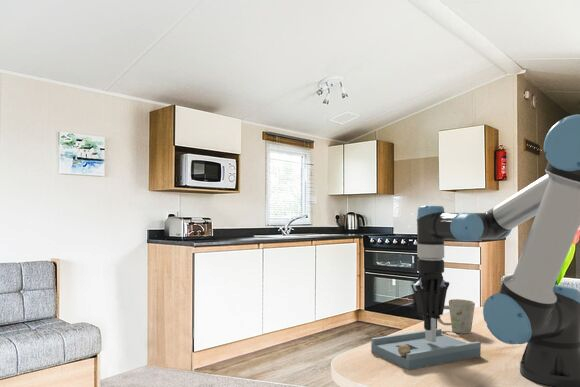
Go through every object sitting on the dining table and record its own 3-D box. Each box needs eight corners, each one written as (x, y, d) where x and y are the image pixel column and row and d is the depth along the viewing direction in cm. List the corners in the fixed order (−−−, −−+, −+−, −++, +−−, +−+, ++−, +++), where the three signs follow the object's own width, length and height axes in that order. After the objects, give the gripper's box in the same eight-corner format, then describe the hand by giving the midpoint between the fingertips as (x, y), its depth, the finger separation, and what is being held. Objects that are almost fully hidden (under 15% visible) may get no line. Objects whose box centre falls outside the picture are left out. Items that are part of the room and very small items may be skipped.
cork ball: (413, 357, 124) (413, 345, 124) (403, 359, 123) (403, 346, 123) (404, 353, 127) (405, 341, 127) (395, 355, 125) (395, 343, 125)
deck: (480, 356, 133) (480, 342, 133) (408, 370, 122) (409, 354, 122) (439, 341, 148) (439, 328, 148) (371, 352, 136) (371, 338, 136)
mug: (476, 335, 155) (476, 305, 155) (436, 333, 157) (437, 302, 157) (472, 329, 163) (472, 300, 163) (434, 326, 165) (434, 298, 166)
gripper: (437, 256, 143) (437, 334, 143) (404, 258, 137) (404, 340, 136) (456, 259, 137) (456, 341, 136) (423, 261, 130) (423, 347, 130)
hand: (430, 340), depth 136 cm, fingers closed
